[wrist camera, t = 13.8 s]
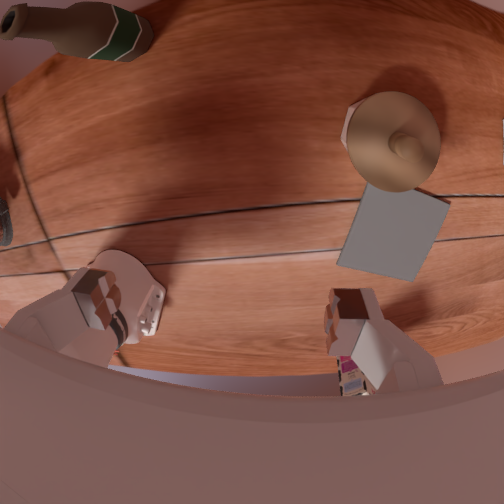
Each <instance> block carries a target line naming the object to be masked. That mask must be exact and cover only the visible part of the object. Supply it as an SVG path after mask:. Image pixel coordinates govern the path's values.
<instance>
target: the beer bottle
mask: <svg viewBox="0 0 504 504" xmlns="http://www.w3.org/2000/svg"><path fill="white" fill-rule="evenodd" d="M14 37H23V38H33V39H43V40H47V41H50V42H52V43H53V45H54V47H55V49H56V50H57V51H58V52H60V53H61V54H64V55H70V56H76V57H82V58H88V59H102V60H113V61H122V62H130V61H132V60H134V59H135V58H137V57H139V56H140V55H142V54H144V53H146V52H147V50H148V48H149V45H150V43H151V41H152V39H153V37H154V33H153V31H152V28H151V26H150V23H149V21H148V20H146V19H145V18H143V17H141V16H138V15H136V14H134V13H131V12H129V11H127V10H124V9H122V8H119V7H117V6H114V5H112V4H108V3H103V2H80V3H75V4H74V5H72V6H70V7H68V8H66V9H60V8H48V7H27V3H25V4H18V5H14V6H11V7H10V9H9V10H8V11H7V12H6V14H5V15H4V16H3V19H2V21H1V24H0V38H1V39H3V40H13V39H14Z"/></svg>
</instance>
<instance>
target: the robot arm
mask: <svg viewBox="0 0 504 504" xmlns="http://www.w3.org/2000/svg"><path fill="white" fill-rule="evenodd" d="M165 293H166V290H165V288H164V287H163V286H162V285H161V284H159V283H158V282H157V281H156V280H154V278H153V277H152V276H151V274H150V273H149V271H148V270H147V269H146V268H145V266H144V265H143V264H142V263H141V262H140V261H138V260H137V259H136V258H134V257H133V256H131V255H129V254H127V253H125V252H122V251H119V250H106V251H103V252H101V253H100V254H99V255H98V256H97V257H96V259H95V261H94V262H93V263H91V264H89V265H87V266H86V267H82V268H80V269H79V270H78V271H77V272H76V273H75V274H74V276H73V277H72V278H71V279H70V280H69V281H68V282H67V283H66V285H65V286H64V287H63V288H62V289H61V290H59V289H58V290H56V291H54V292H52V293H51V294H49V295H47V296H45V297H43V298H41V299H39V300H37V301H35V302H33V303H31V304H30V305H28V306H26V307H24V308H22V309H20V310H18V311H17V312H16V313H15V315H14V316H13V317H12V318H11V320H10V321H9V322H8V324H7V325H6V326H5V327H4V329H3V328H0V504H504V370H501V371H498V372H495V373H491V374H488V375H484V376H480V377H476V378H472V379H468V380H464V381H460V382H455V383H451V384H445V385H444V384H443V381H442V378H441V375H440V373H439V370H438V367H437V365H436V362H435V359H434V357H433V356H432V355H430V354H429V353H428V352H427V351H426V350H424V349H423V348H422V347H421V346H420V345H418V344H417V343H416V342H415V341H414V340H412V339H411V338H410V337H409V336H408V335H406V334H405V333H404V332H403V331H402V330H400V329H399V328H398V327H397V326H395V325H394V324H393V323H392V322H390V321H389V320H385V319H384V317H383V314H382V311H381V308H380V306H379V303H378V301H377V298H376V295H375V293H374V290H373V289H372V288H358V289H351V288H331V290H330V293H329V302H330V304H328V305H327V306H326V310H325V316H324V329H325V332H326V333H327V334H328V336H327V339H326V345H327V353H328V356H351V358H352V360H353V361H354V362H355V363H356V365H357V366H358V367H359V368H360V369H361V371H362V372H363V373H364V374H365V376H366V377H367V378H368V379H369V381H370V382H371V383H372V384H373V386H374V387H375V388H376V389H377V391H376V392H375V394H371V395H357V396H335V397H334V396H333V397H296V396H271V395H255V394H243V393H233V392H224V391H216V390H208V389H201V388H195V387H188V386H183V385H177V384H172V383H167V382H161V381H157V380H152V379H148V378H143V377H139V376H135V375H131V374H127V373H123V372H119V371H115V370H112V369H108V368H107V367H108V365H109V362H110V360H111V358H112V356H113V354H115V355H118V354H116V353H114V352H119V350H117V349H118V348H119V347H120V346H121V345H123V344H124V343H127V344H135V343H138V342H139V341H140V340H141V338H142V336H143V335H145V336H150V335H154V334H155V333H156V331H157V327H158V322H159V318H160V314H161V310H162V306H163V301H164V297H165Z"/></svg>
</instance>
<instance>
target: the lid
mask: <svg viewBox="0 0 504 504" xmlns="http://www.w3.org/2000/svg"><path fill="white" fill-rule="evenodd" d="M346 143H347V150H348V153H349V157H350V159H351V162H352V163H353V165H354V167H355V169H356V170H357V171H358V173H359V174H360V175H361V176H362V177H363V178H364V179H365V180H366V181H367V182H368V183H370V184H371V185H373V186H374V187H376V188H378V189H380V190H383V191H386V192H395V193H399V192H405V191H409V190H412V189H414V188H416V187H418V186H419V185H421V184H422V183H423V182H425V181H426V180H427V179H428V177H429V176H430V175H431V174H432V172H433V170H434V169H435V167H436V164H437V162H438V159H439V155H440V147H441V141H440V133H439V129H438V126H437V123H436V121H435V119H434V117H433V115H432V114H431V112H430V111H429V109H428V108H427V107H426V106H425V105H424V104H423V103H422V102H420V101H419V100H418V99H416V98H415V97H413V96H411V95H408V94H406V93H402V92H396V91H385V92H379V93H376V94H373V95H371V96H369V97H367V98H366V99H365V100H363V101H362V102H361V103H360V104H359V105H358V106H357V108H356V109H355V110H354V112H353V114H352V116H351V118H350V120H349V123H348V127H347V134H346Z"/></svg>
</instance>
